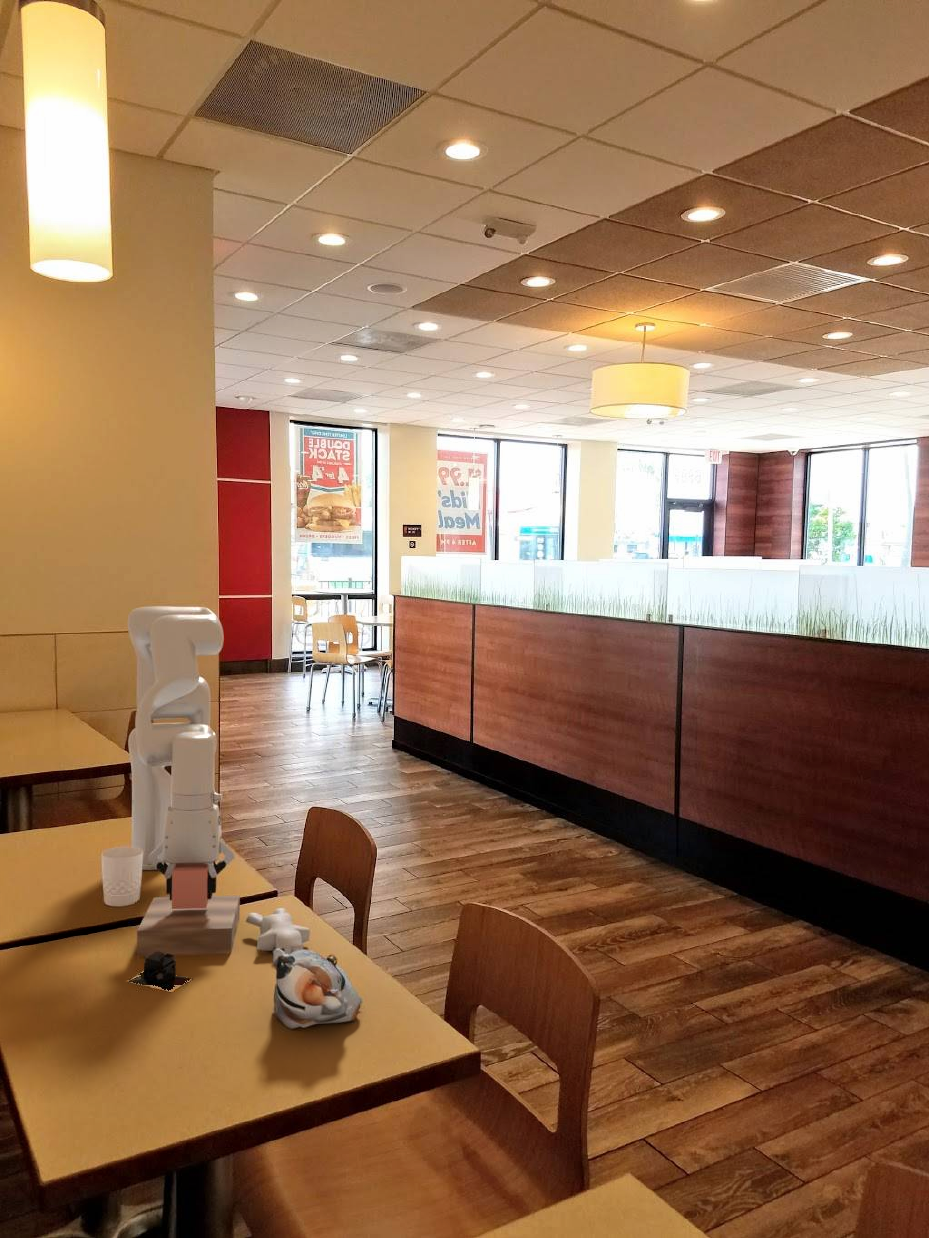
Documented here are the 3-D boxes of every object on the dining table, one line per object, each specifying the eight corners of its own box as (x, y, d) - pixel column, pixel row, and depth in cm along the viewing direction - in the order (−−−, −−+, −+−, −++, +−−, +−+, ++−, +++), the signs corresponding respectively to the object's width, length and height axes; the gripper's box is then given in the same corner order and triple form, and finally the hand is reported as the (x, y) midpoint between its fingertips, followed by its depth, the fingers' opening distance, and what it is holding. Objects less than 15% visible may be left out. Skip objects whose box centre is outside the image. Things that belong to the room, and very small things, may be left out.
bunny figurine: (267, 943, 158) (241, 904, 171) (265, 971, 159) (239, 930, 172) (318, 934, 163) (290, 896, 176) (317, 960, 164) (288, 921, 177)
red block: (176, 896, 172) (177, 859, 172) (210, 896, 173) (210, 859, 172) (171, 908, 166) (172, 870, 166) (206, 908, 167) (206, 870, 167)
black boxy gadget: (204, 982, 153) (204, 955, 153) (175, 1000, 146) (175, 972, 146) (144, 967, 158) (144, 941, 158) (113, 985, 151) (113, 958, 151)
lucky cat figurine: (378, 1012, 144) (374, 954, 136) (321, 1068, 136) (313, 1010, 128) (313, 959, 152) (305, 902, 144) (255, 1010, 144) (244, 952, 136)
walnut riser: (153, 922, 177) (153, 897, 176) (239, 920, 179) (239, 895, 179) (136, 958, 161) (137, 930, 161) (231, 955, 163) (231, 928, 163)
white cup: (149, 895, 190) (149, 847, 189) (131, 909, 182) (132, 859, 181) (112, 892, 190) (113, 844, 190) (93, 906, 183) (93, 857, 182)
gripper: (242, 794, 173) (241, 888, 175) (147, 795, 171) (146, 890, 172) (239, 805, 166) (237, 903, 167) (139, 806, 163) (138, 905, 164)
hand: (191, 896), depth 169 cm, fingers closed on red block, 6 cm apart
